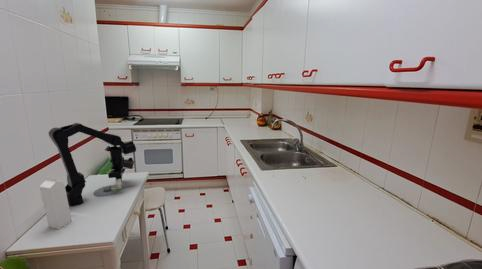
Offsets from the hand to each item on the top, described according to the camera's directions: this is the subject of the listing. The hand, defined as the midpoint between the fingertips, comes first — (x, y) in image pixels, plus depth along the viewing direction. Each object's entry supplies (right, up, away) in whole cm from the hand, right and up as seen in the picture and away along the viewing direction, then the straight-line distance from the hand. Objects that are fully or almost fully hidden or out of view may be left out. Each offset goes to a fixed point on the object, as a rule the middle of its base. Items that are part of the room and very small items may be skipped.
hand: (120, 182), depth 137 cm
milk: (-10, -12, -32) cm, 36 cm away
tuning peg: (-2, -3, -3) cm, 5 cm away
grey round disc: (-5, -5, -4) cm, 8 cm away
